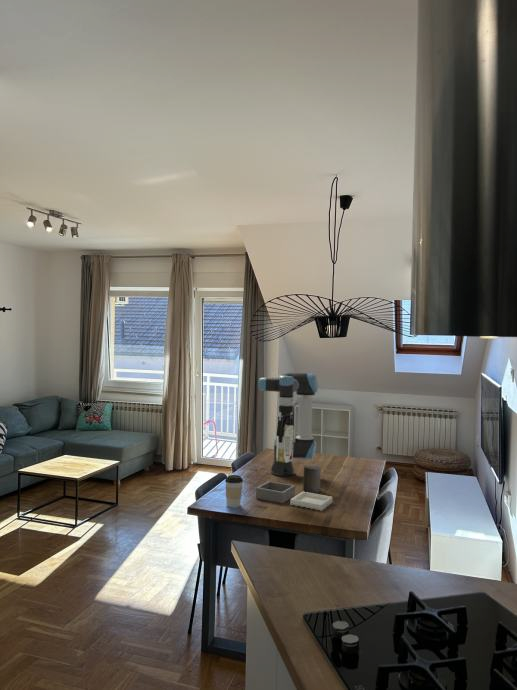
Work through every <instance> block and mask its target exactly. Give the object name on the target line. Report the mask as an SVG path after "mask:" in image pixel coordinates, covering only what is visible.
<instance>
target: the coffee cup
mask: <svg viewBox="0 0 517 690" xmlns="http://www.w3.org/2000/svg"><path fill="white" fill-rule="evenodd" d="M224 479H225V480H224V481H225V498H226V506H227V507H228V506H229V507H228V508H239V507H241V499H242V494H243V493H242V492H243V483H244V478H243V477H242V476H241V475H238V474H230V475H227V477H225V478H224Z"/></svg>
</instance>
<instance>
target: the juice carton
mask: <svg viewBox="0 0 517 690" xmlns="http://www.w3.org/2000/svg"><path fill="white" fill-rule="evenodd" d="M293 426H294V424H293V425H285V427H284V434H283V436H284V449H279V448H278V445H279V436H277V435H276V438H277V448H276V459H277V461H279V462H285V463H287V462H290V461H292V462H293V459H294V458H293V439H295V438H294V432H295V428H293Z"/></svg>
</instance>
